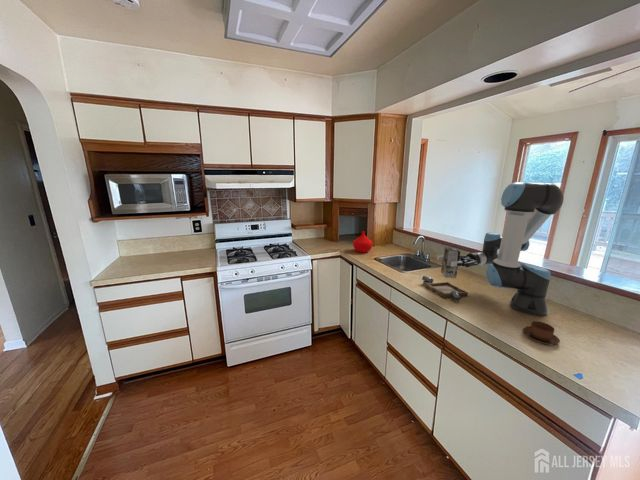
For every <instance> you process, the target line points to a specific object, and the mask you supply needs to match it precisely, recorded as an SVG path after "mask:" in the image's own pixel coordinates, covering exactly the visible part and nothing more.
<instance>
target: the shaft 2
mask: <svg viewBox="0 0 640 480" xmlns="http://www.w3.org/2000/svg"><path fill="white" fill-rule="evenodd" d="M451 295H452V296H453V297H452V298H450V300H451V302H452V303H453V304H460V300H462V297H461V296H460V295H459V294H458V293H457V292H456V291H451Z"/></svg>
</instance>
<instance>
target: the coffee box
mask: <svg viewBox="0 0 640 480" xmlns="http://www.w3.org/2000/svg"><path fill="white" fill-rule="evenodd" d="M460 255H461V250H459V249H458V248H456V247H452V246H451V247H444V248H443V254H442V256H443V260H441V261H442V262H441V269H440V273H441V275H442V276H443V277H444V278H449V279H450V278H451V279H457V276H458V269H459V268H458V267H459V266H455V267H451V262H455V261H459V257H460Z"/></svg>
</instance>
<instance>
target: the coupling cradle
mask: <svg viewBox="0 0 640 480" xmlns="http://www.w3.org/2000/svg"><path fill="white" fill-rule="evenodd" d="M425 288H426V289H427V290H429V291H431V292H432V293H434V294H436V295H438V296H439V297H441V298H442V299H444V300H447V299H451V298H452V297H453V296H452V295H451V291H456V292H457V293H458V294H459V295H460V296H461V298H464V297H469V292H468V291H467V290H464V289H463V288H460V287H459V286H458V285H455V284H453V283H451V282H449V281H442V282H433V283H429V284H426V285H425Z"/></svg>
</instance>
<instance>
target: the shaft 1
mask: <svg viewBox="0 0 640 480" xmlns="http://www.w3.org/2000/svg"><path fill="white" fill-rule="evenodd" d="M421 280H422V285H425V286H426V284H429V283H434V278H431V277H428V276H426V275H422V277H421Z"/></svg>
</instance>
